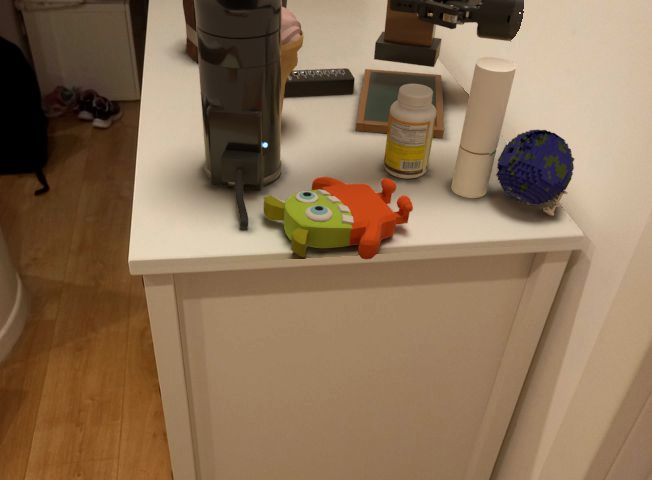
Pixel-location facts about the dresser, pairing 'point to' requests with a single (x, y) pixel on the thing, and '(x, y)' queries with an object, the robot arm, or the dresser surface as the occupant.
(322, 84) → the multiport hub
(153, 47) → the dresser surface
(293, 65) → the ice cream cone
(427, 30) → the duster
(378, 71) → the chalkboard
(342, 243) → the toy
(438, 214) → the dresser surface
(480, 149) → the tube
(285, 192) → the dresser surface
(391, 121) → the supplement bottle
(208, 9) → the robot arm
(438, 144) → the dresser surface
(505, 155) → the globe
